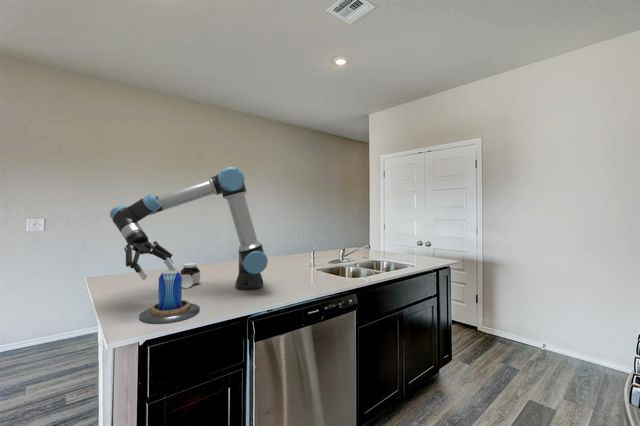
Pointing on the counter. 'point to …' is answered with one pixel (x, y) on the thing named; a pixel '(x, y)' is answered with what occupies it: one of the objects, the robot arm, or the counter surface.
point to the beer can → (170, 290)
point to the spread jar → (190, 275)
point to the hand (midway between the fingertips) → (160, 274)
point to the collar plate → (169, 313)
